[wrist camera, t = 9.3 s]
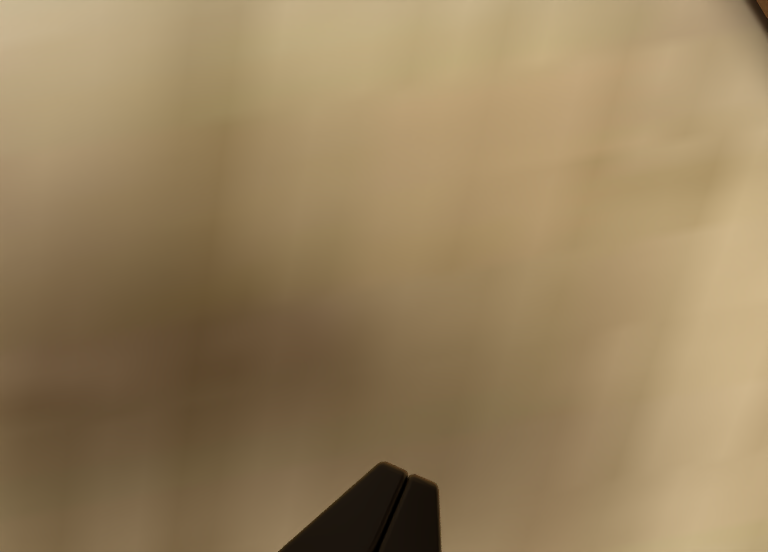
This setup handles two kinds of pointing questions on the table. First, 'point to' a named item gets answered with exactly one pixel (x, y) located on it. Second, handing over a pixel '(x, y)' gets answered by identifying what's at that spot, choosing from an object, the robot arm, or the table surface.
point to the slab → (763, 6)
